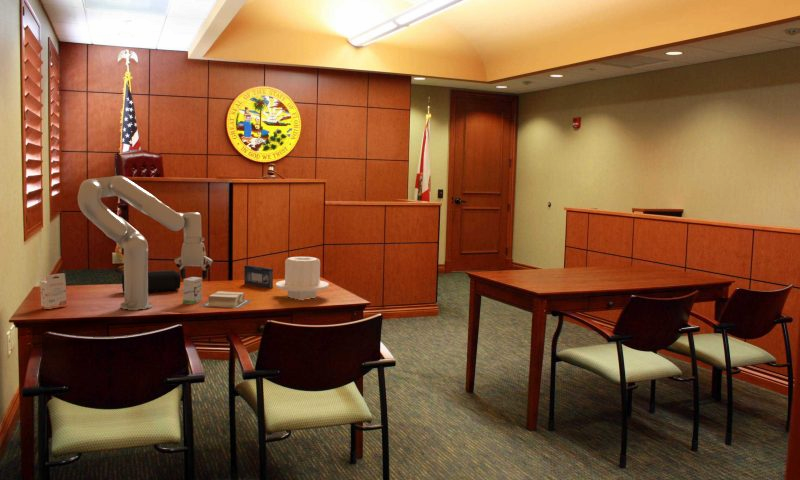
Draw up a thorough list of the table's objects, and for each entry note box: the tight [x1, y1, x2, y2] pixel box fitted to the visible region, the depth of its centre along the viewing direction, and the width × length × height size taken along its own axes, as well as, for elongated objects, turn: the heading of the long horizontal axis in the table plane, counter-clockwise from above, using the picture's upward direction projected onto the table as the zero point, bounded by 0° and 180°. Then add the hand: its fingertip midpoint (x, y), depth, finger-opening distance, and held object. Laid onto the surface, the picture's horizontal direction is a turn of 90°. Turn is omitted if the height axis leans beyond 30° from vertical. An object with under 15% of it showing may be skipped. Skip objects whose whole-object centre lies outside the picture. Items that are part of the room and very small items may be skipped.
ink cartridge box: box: [40, 272, 67, 307], centre depth 285 cm, size 9×5×15 cm, turn 148°
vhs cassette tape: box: [243, 264, 274, 290], centre depth 348 cm, size 18×3×10 cm, turn 55°
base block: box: [208, 290, 245, 307], centre depth 301 cm, size 12×12×4 cm
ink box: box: [182, 276, 203, 305], centre depth 300 cm, size 9×5×12 cm, turn 168°
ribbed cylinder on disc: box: [275, 256, 330, 301], centre depth 322 cm, size 25×25×19 cm
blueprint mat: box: [200, 299, 253, 309], centre depth 301 cm, size 18×18×1 cm
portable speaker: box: [121, 269, 181, 293], centre depth 325 cm, size 26×10×10 cm, turn 118°
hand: (194, 278), depth 300 cm, fingers open, 9 cm apart
